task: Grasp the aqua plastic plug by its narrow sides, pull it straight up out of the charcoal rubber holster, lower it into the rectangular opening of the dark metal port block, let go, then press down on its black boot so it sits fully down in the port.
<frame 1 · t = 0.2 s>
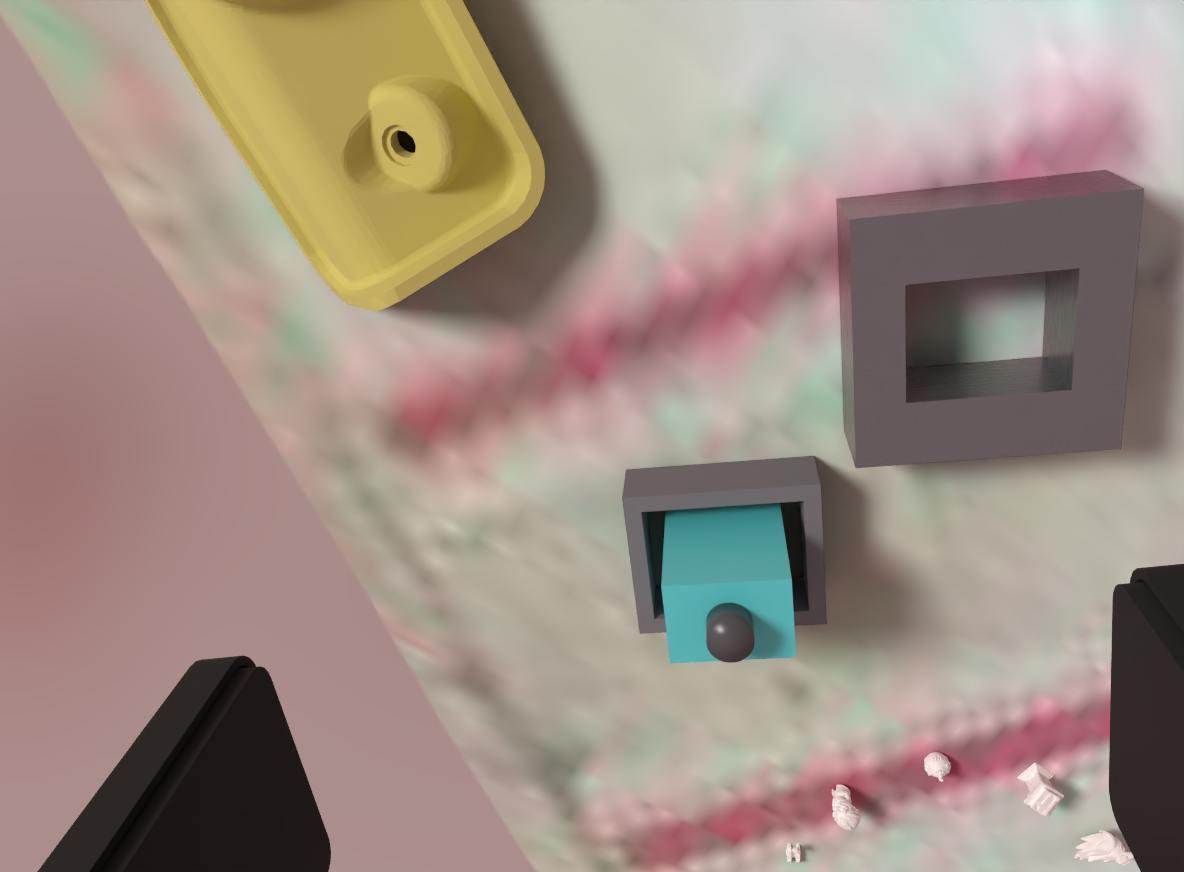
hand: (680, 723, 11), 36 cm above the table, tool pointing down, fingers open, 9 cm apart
game piece set: (944, 870, 60), on the table
plastic component: (349, 36, 44), on the table
holster: (724, 530, 52), on the table
port: (966, 308, 46), on the table
plug: (724, 530, 52), resting in holster
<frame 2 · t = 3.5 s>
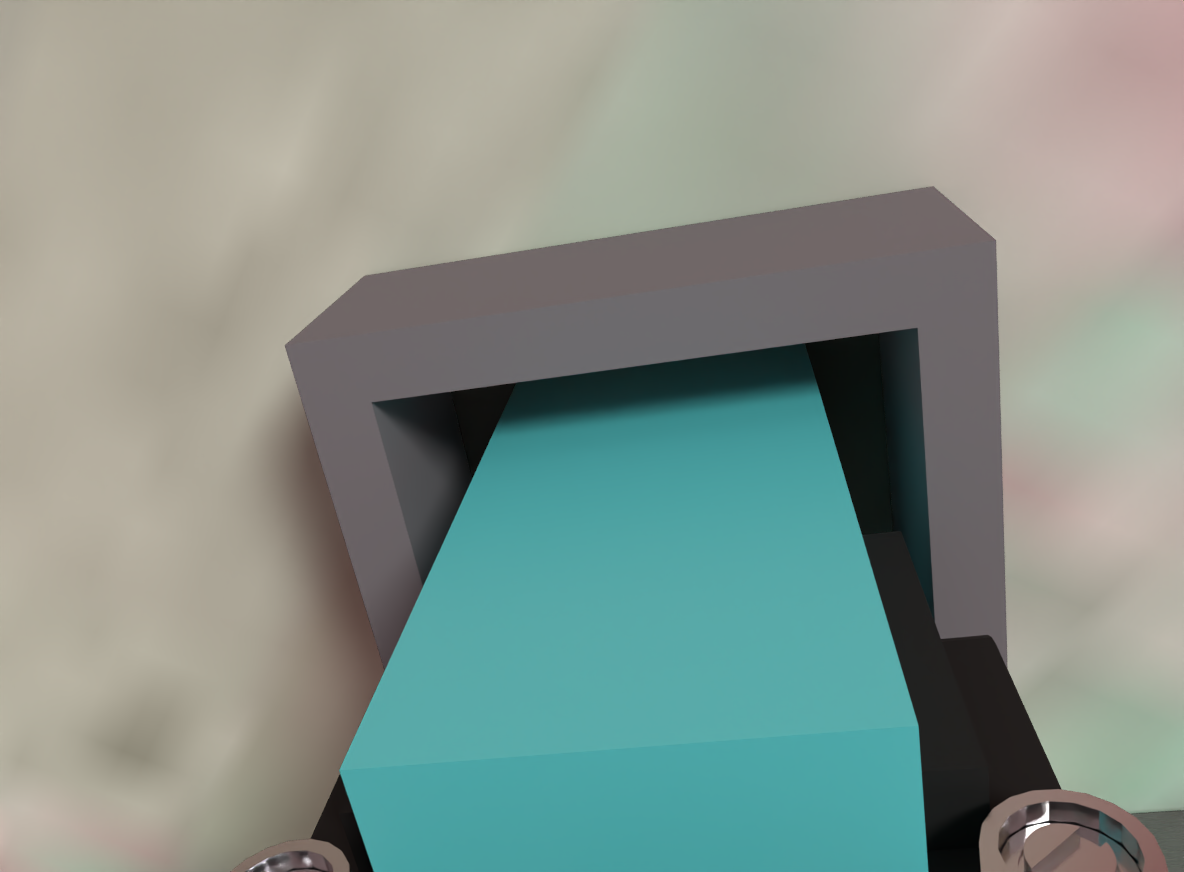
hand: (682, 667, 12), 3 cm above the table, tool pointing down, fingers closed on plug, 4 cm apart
holster: (685, 533, 15), on the table
plug: (685, 531, 15), resting in holster, touching gripper
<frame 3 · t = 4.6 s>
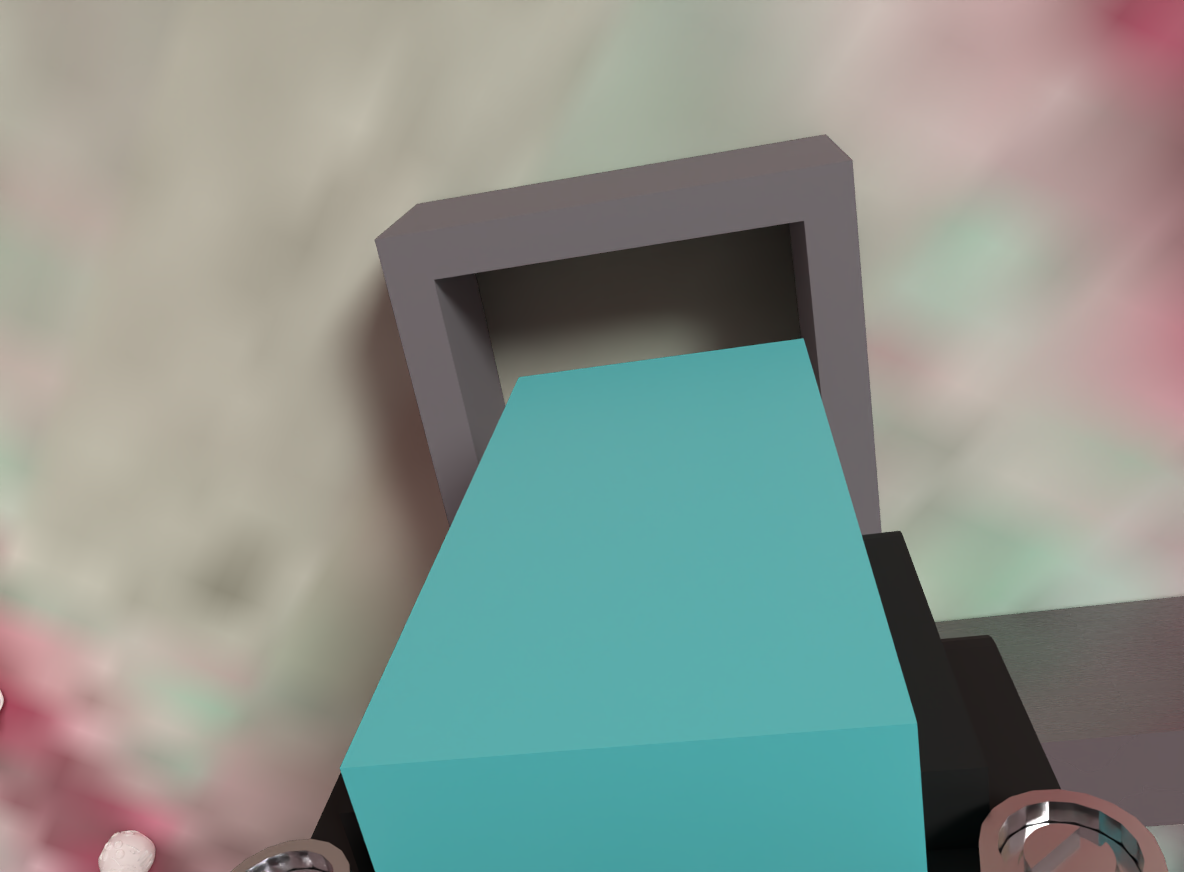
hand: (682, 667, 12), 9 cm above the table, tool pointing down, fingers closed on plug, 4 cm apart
holster: (653, 398, 21), on the table
plug: (685, 530, 15), point 6 cm above the table, touching gripper
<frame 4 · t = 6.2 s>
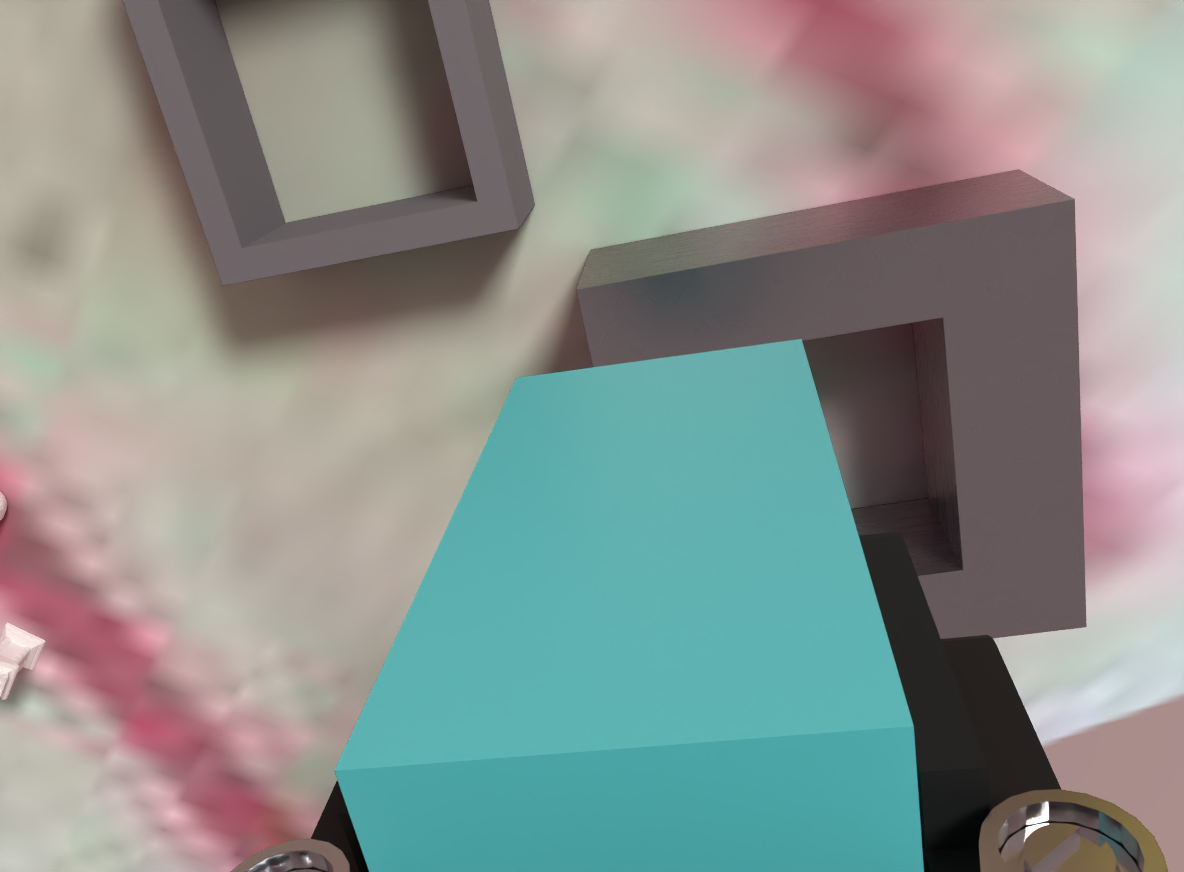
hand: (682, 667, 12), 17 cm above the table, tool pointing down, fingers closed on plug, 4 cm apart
holster: (349, 55, 26), on the table
port: (823, 405, 29), on the table
plug: (683, 531, 15), point 13 cm above the table, touching gripper
when the fingers open (6 cm above the table, at t = 9.0 s): plug drops 3 cm, resting in port.
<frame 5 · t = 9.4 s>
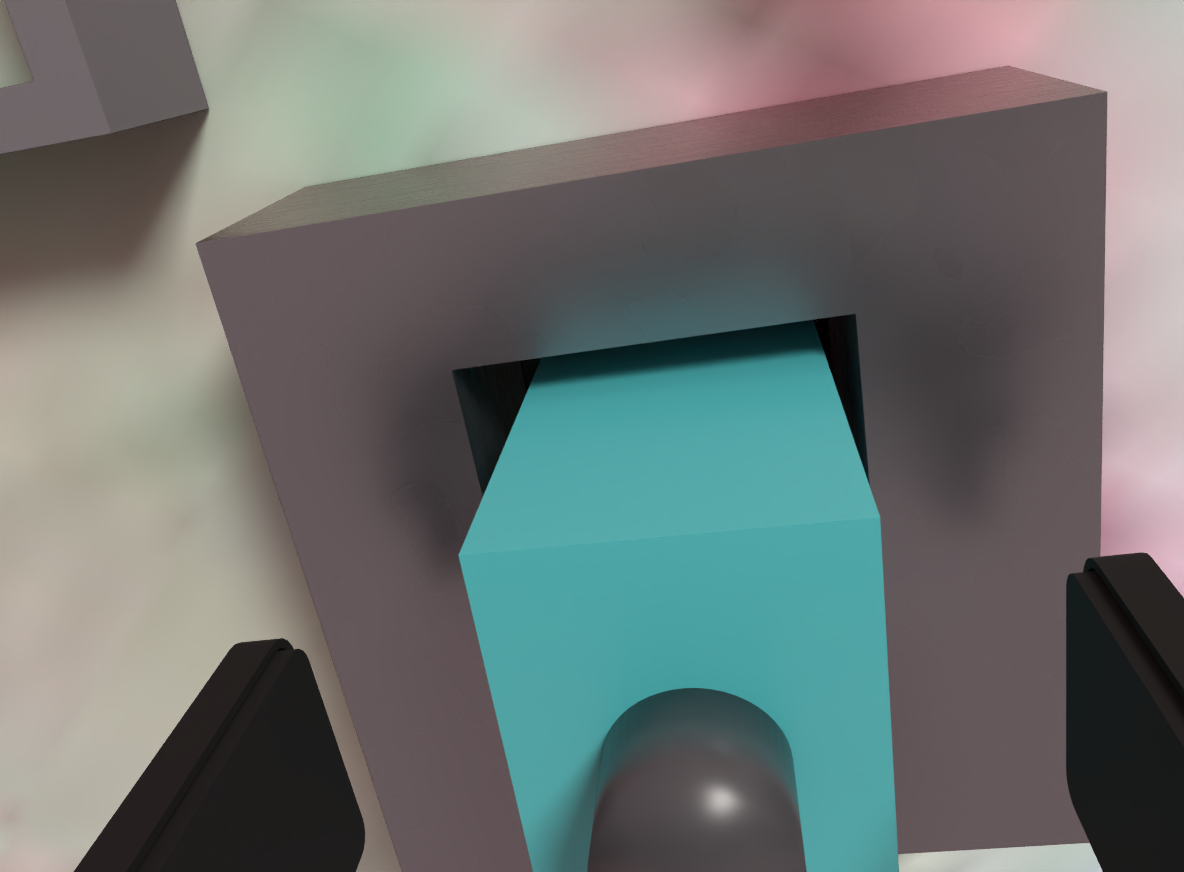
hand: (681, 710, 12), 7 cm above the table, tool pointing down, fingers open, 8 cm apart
port: (687, 450, 18), on the table
plug: (697, 449, 18), resting in port
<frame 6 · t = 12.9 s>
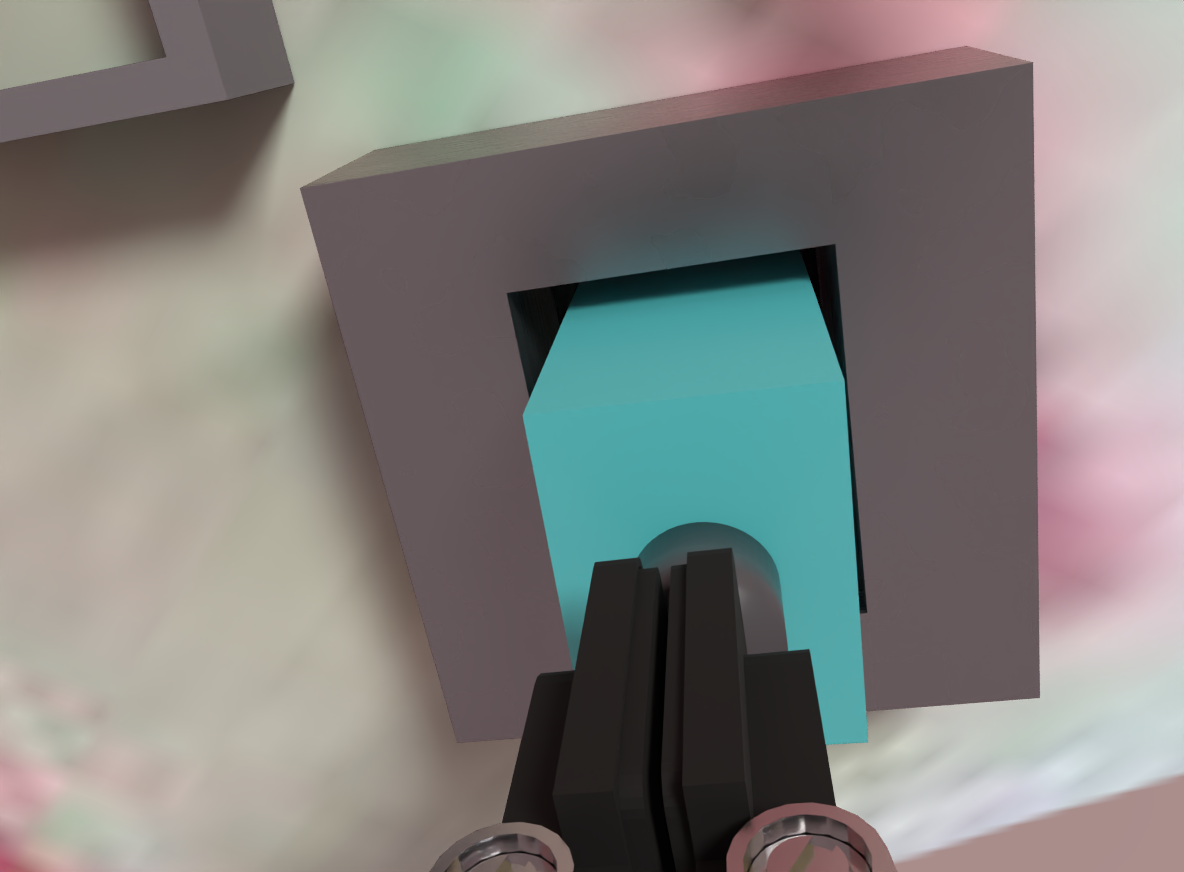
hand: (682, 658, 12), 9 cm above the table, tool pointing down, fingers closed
port: (697, 377, 21), on the table
plug: (705, 377, 21), resting in port, touching gripper
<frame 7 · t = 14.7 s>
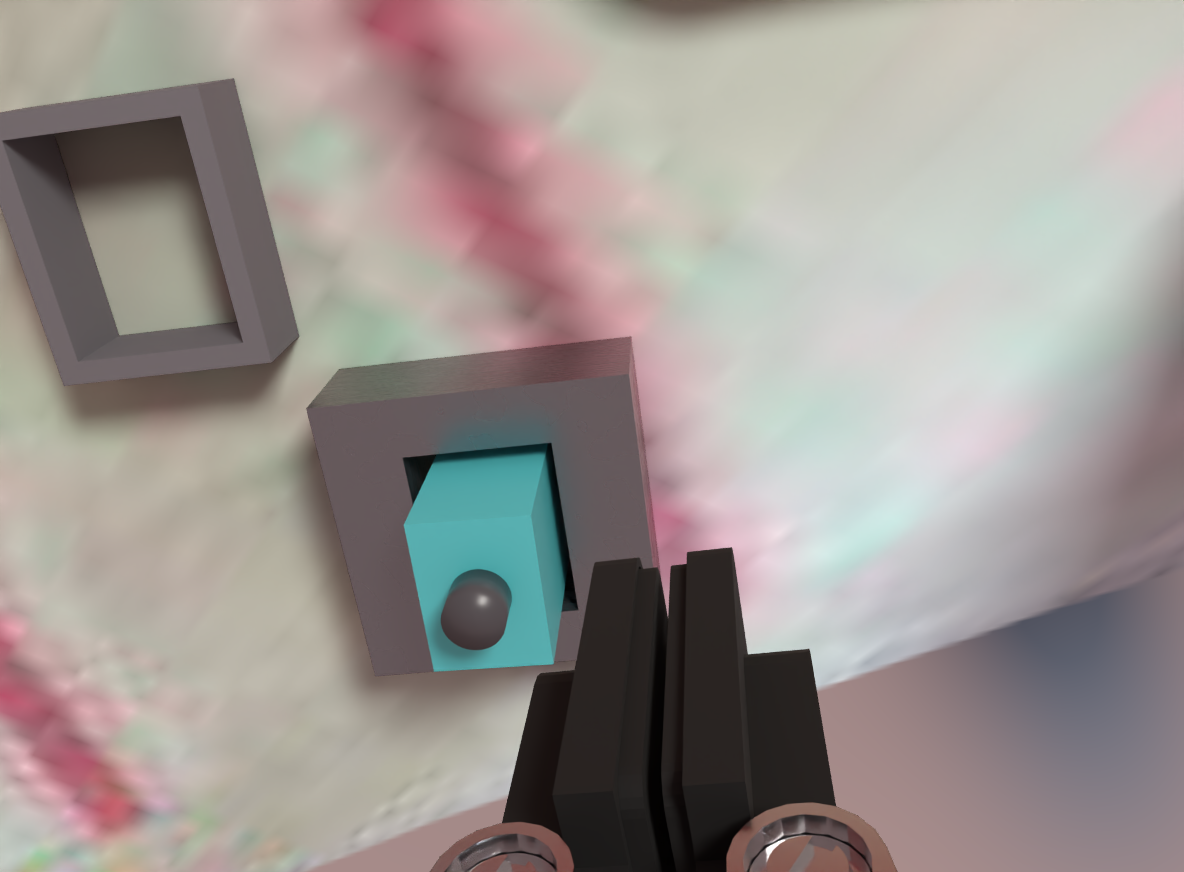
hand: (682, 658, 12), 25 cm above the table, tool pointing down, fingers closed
holster: (165, 226, 37), on the table
port: (507, 486, 40), on the table
plug: (512, 486, 40), resting in port
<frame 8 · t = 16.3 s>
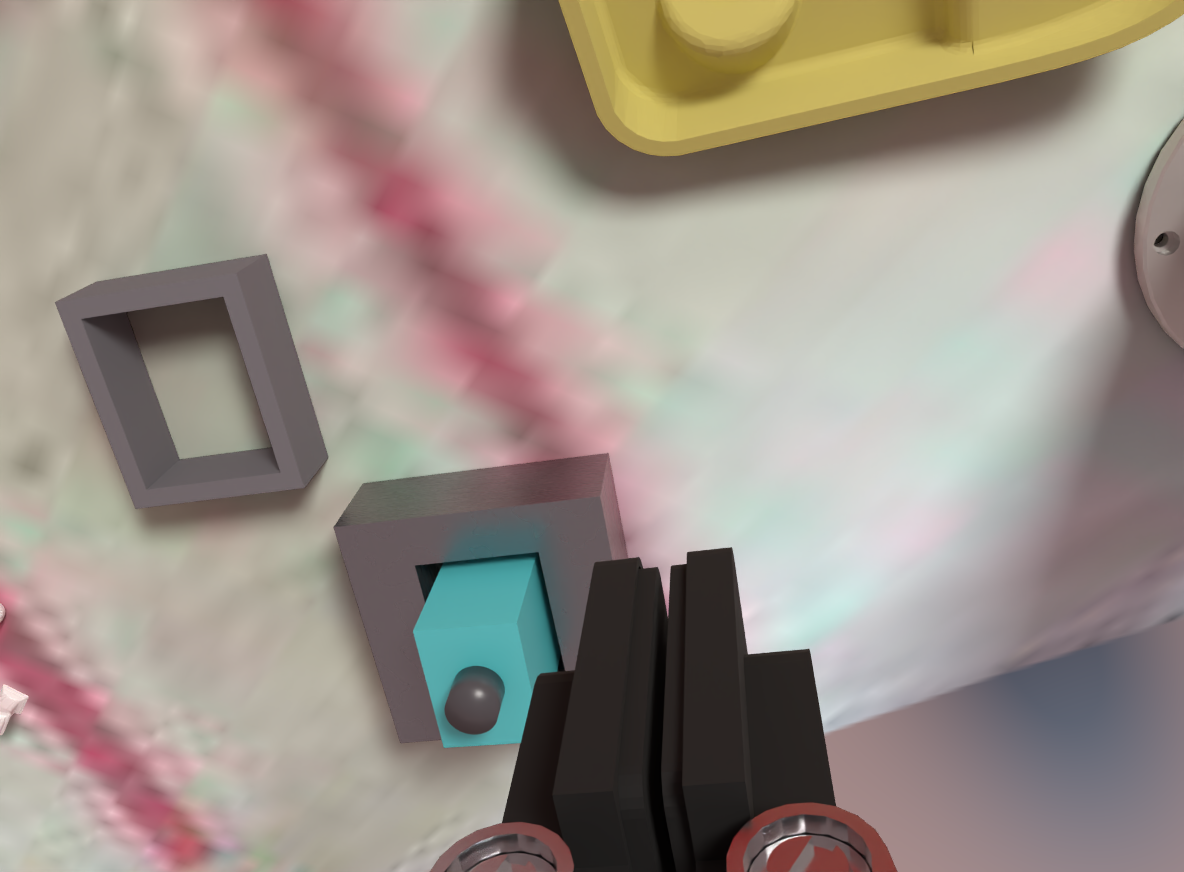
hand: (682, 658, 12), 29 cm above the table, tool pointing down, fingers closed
holster: (215, 371, 44), on the table
port: (509, 577, 47), on the table
plug: (513, 577, 47), resting in port
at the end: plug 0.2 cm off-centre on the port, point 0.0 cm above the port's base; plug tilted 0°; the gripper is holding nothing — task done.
